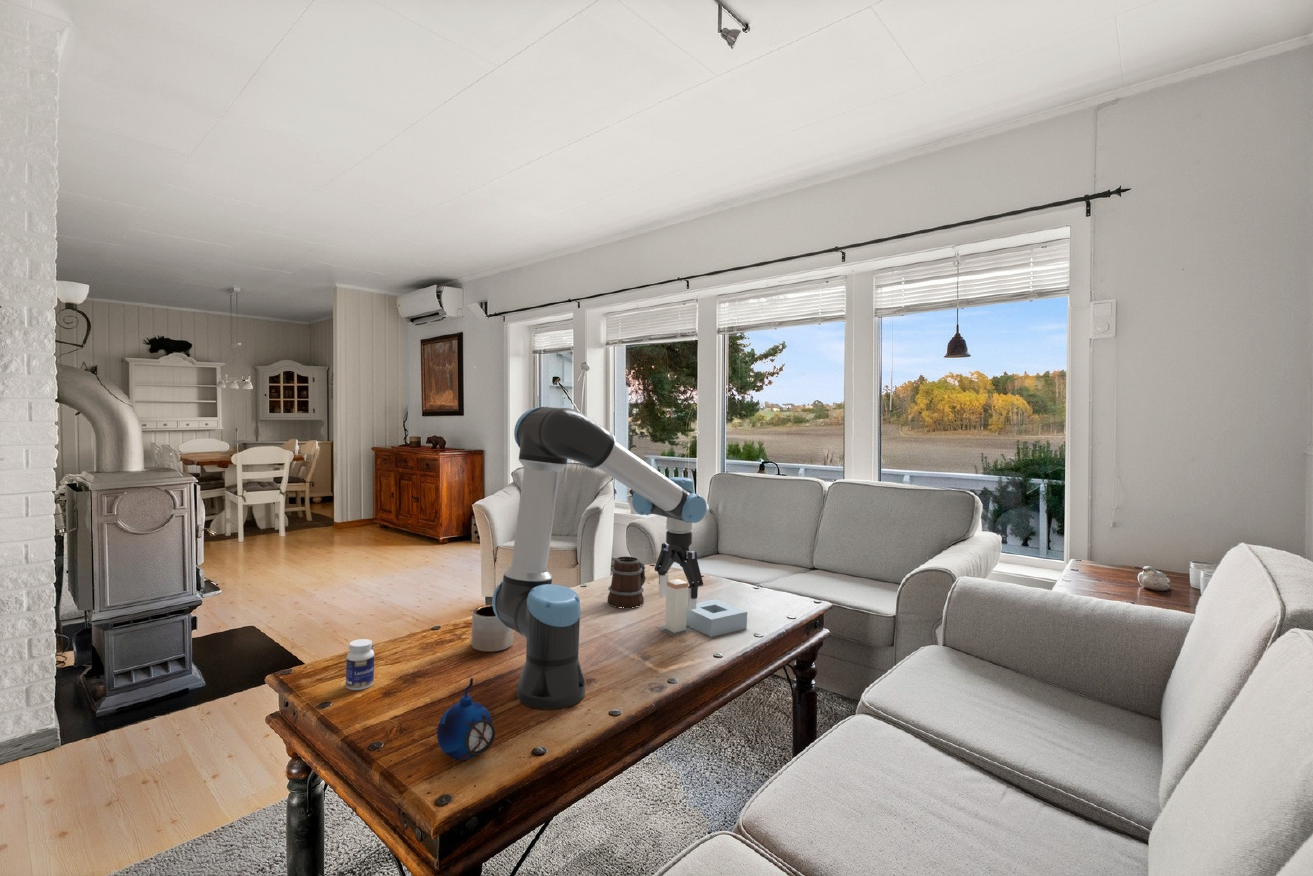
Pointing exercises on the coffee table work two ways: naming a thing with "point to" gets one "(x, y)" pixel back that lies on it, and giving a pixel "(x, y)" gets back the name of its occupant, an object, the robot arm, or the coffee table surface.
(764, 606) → the coffee table surface
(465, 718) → the bomb
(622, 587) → the mug
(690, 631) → the mat
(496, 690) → the coffee table surface
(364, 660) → the pill bottle
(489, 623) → the planter
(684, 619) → the peg
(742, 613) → the socket block
